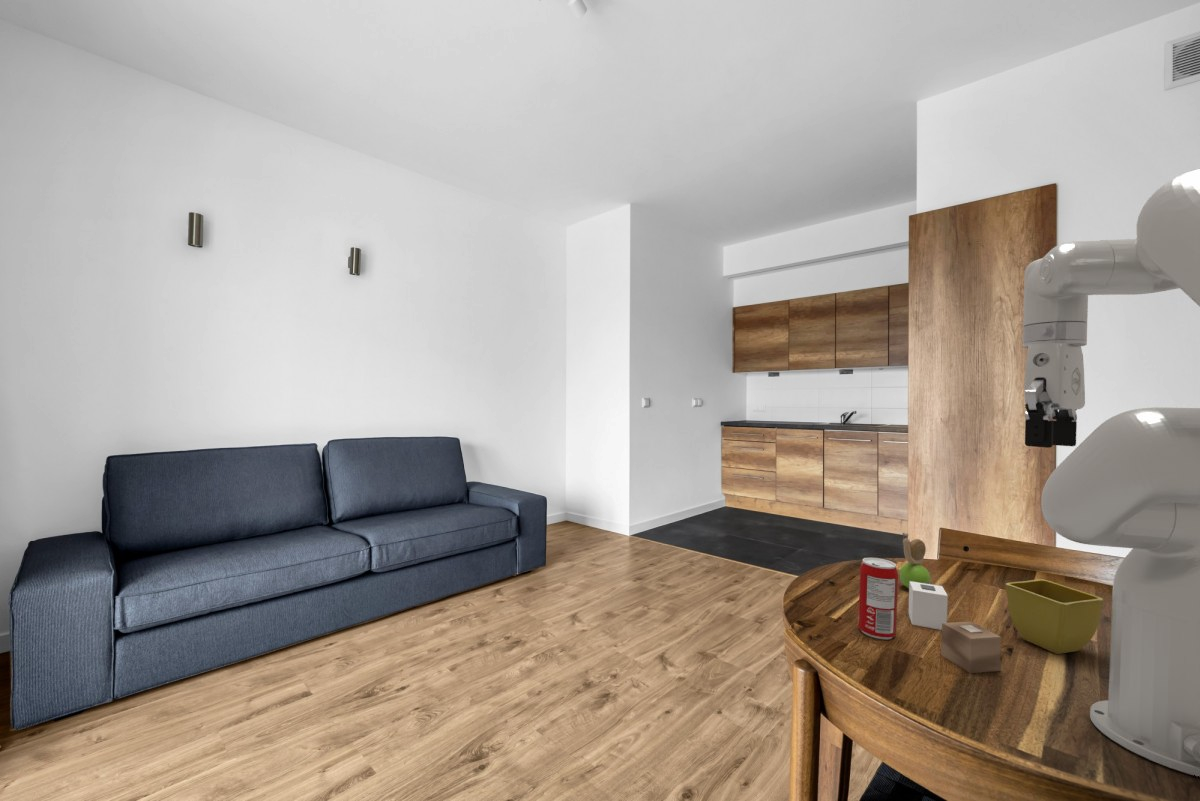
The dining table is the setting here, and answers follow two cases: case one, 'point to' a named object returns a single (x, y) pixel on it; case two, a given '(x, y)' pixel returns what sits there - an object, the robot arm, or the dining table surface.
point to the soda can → (878, 598)
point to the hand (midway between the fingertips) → (1050, 446)
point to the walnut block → (971, 647)
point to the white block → (927, 605)
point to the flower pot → (1053, 614)
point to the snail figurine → (914, 562)
